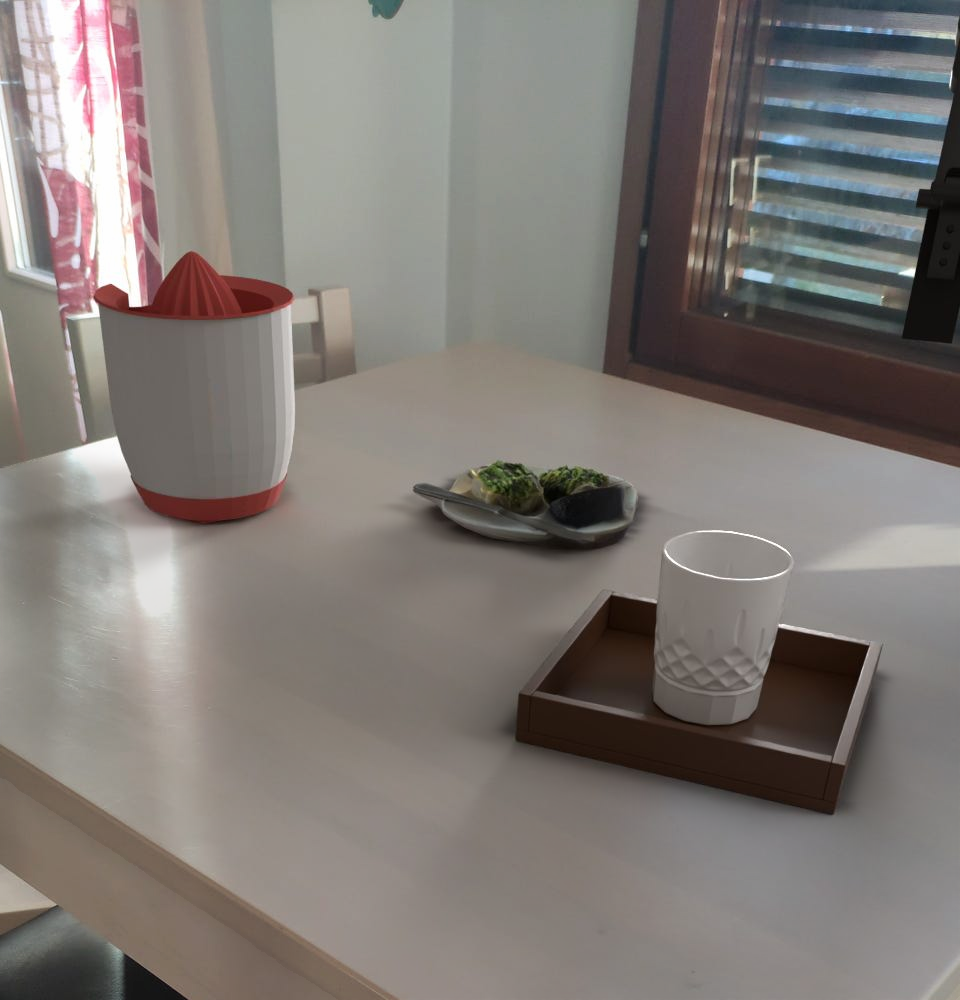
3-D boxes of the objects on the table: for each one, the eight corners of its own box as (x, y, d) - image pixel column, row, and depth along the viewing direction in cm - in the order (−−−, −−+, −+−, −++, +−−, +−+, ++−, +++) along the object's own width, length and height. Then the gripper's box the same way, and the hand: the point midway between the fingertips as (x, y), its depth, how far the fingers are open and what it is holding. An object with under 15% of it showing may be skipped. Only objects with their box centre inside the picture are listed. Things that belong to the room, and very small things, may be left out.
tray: (872, 687, 86) (883, 643, 84) (833, 815, 72) (845, 766, 71) (598, 631, 91) (603, 588, 90) (514, 740, 78) (518, 693, 76)
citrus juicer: (212, 456, 120) (194, 224, 108) (339, 503, 111) (334, 255, 99) (70, 493, 110) (34, 242, 98) (196, 549, 101) (172, 279, 89)
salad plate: (389, 539, 104) (389, 484, 102) (438, 472, 119) (439, 422, 116) (620, 566, 102) (627, 511, 99) (642, 495, 116) (648, 444, 113)
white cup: (661, 734, 78) (683, 581, 72) (629, 675, 84) (647, 531, 78) (782, 729, 79) (813, 578, 73) (742, 671, 85) (767, 529, 80)
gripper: (965, -115, 74) (890, 274, 86) (938, -154, 55) (846, 355, 67) (1101, -114, 72) (1005, 284, 84) (1123, -155, 53) (994, 370, 65)
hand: (934, 316), depth 76 cm, fingers open, 13 cm apart
